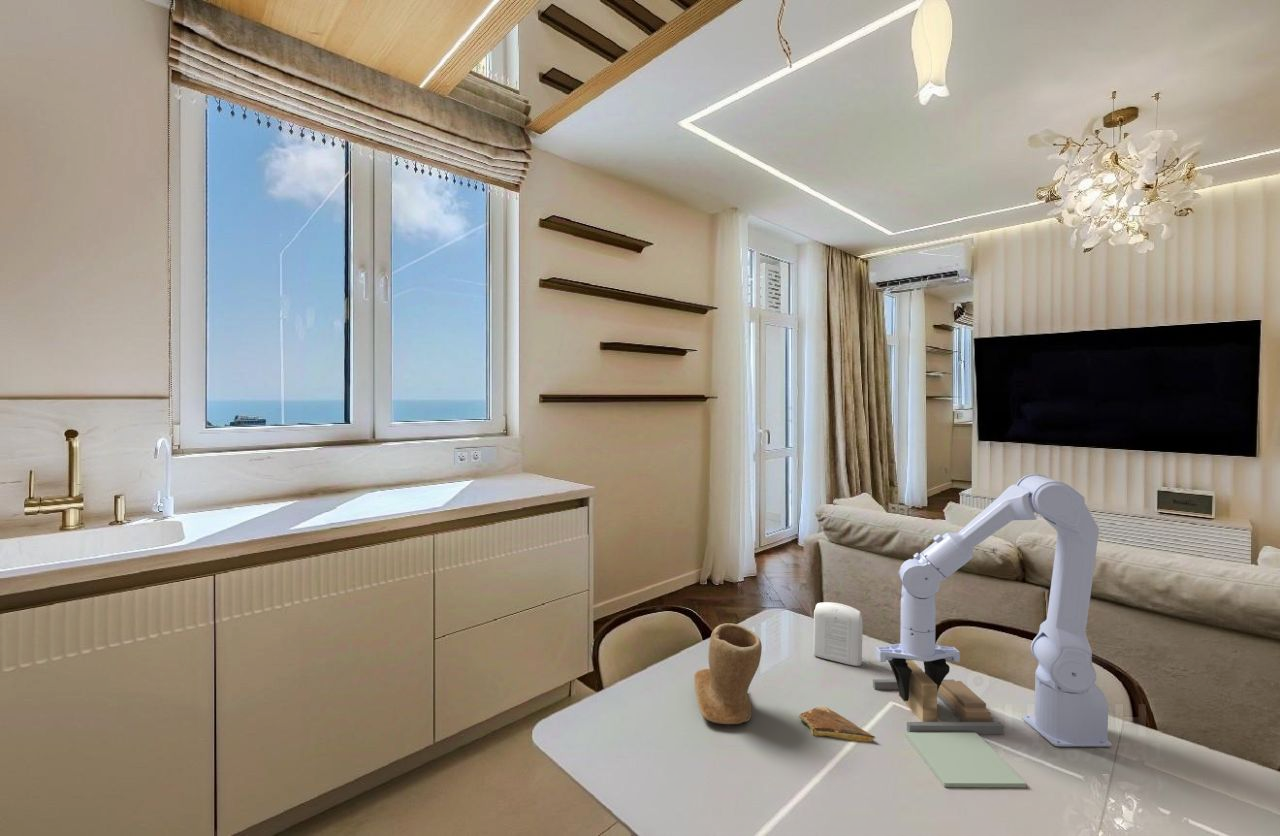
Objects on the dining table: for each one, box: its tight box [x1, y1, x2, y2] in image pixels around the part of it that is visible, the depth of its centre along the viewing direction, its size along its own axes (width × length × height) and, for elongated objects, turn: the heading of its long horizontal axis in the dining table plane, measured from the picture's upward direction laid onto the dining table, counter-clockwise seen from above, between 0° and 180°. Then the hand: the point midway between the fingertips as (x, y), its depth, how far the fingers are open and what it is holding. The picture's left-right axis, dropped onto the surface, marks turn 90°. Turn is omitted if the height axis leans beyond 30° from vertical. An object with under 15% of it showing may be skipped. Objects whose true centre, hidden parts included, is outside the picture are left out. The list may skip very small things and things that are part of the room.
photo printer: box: [812, 601, 863, 667], centre depth 117 cm, size 10×4×12 cm, turn 59°
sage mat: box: [904, 731, 1027, 788], centre depth 85 cm, size 12×12×1 cm
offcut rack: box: [872, 678, 1005, 735], centre depth 98 cm, size 16×15×3 cm
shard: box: [798, 706, 876, 743], centre depth 92 cm, size 11×8×2 cm
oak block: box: [898, 660, 938, 722], centre depth 98 cm, size 2×9×7 cm, turn 179°
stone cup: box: [693, 622, 763, 725], centre depth 100 cm, size 15×12×15 cm
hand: (917, 698), depth 98 cm, fingers open, 4 cm apart
